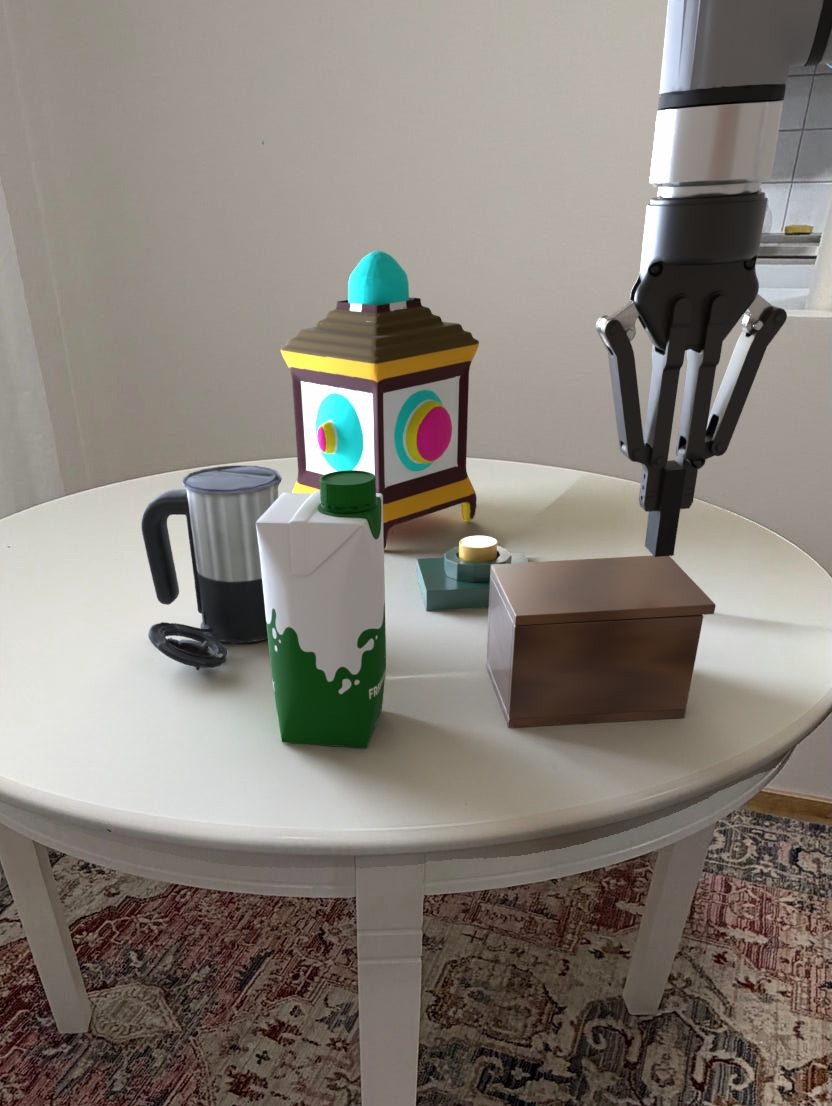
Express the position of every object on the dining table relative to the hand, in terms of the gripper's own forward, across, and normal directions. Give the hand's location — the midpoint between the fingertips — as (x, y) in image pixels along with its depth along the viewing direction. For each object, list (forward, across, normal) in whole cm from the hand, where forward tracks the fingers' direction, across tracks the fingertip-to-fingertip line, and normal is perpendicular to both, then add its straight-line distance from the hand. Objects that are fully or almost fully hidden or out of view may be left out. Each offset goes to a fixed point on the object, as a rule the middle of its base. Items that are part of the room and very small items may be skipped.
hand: (658, 550), depth 76 cm
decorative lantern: (+12, +19, -51) cm, 55 cm away
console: (+12, +10, -25) cm, 30 cm away
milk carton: (+12, +27, +4) cm, 30 cm away
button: (+8, +10, -25) cm, 28 cm away
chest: (+12, +5, 0) cm, 13 cm away
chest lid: (+3, +5, 0) cm, 6 cm away
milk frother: (+12, +37, -15) cm, 42 cm away
